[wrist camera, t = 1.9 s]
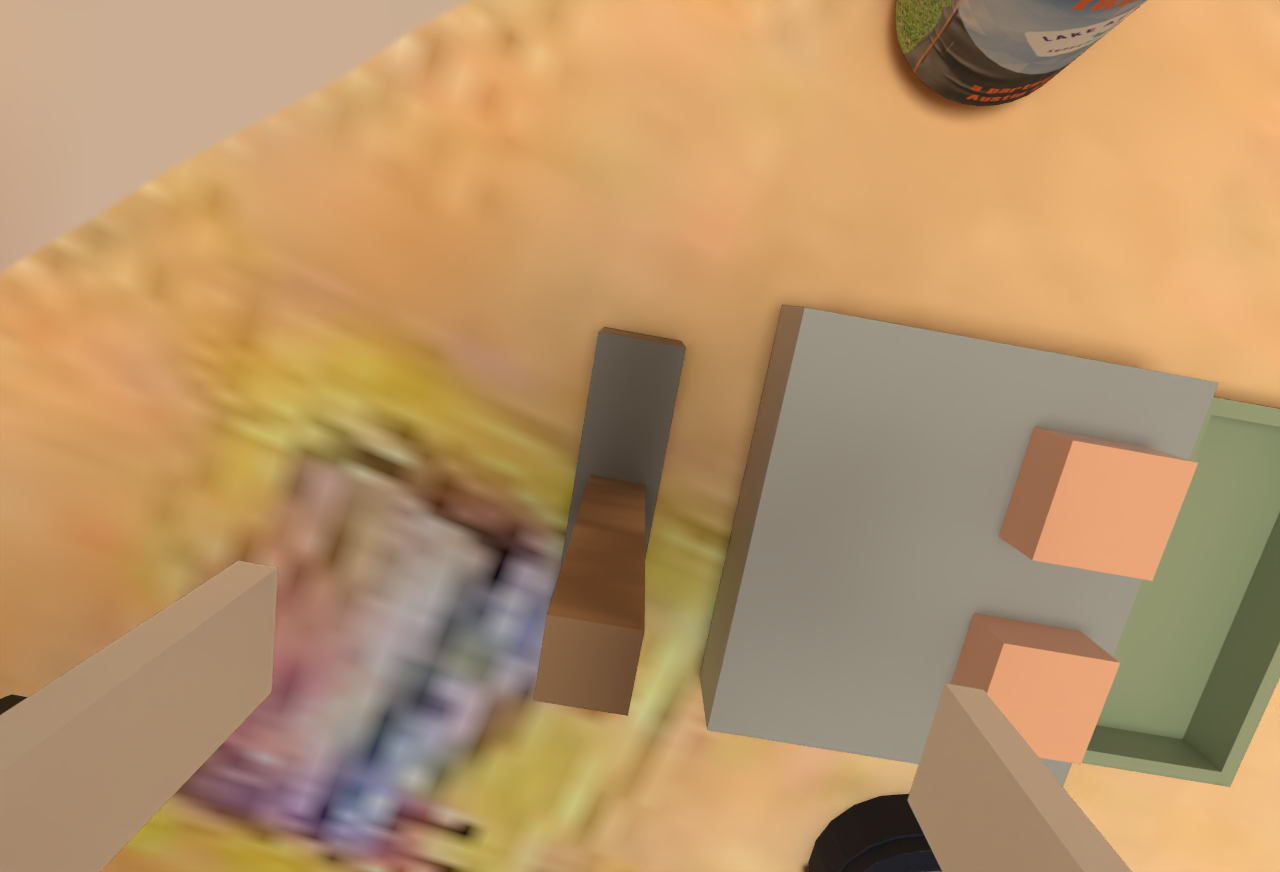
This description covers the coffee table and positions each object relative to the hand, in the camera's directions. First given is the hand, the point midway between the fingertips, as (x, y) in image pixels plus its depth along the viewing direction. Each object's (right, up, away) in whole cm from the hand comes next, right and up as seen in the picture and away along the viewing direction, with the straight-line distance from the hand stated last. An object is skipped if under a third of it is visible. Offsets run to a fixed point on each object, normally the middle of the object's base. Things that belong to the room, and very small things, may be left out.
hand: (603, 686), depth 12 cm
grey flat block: (+12, +1, +14) cm, 18 cm away
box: (+22, -1, +14) cm, 26 cm away
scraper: (0, +3, +13) cm, 14 cm away
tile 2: (+16, +3, +9) cm, 19 cm away
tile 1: (+14, -4, +11) cm, 19 cm away
